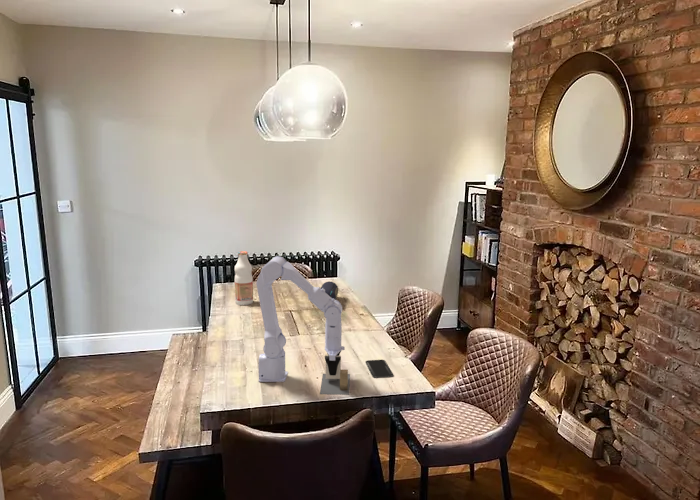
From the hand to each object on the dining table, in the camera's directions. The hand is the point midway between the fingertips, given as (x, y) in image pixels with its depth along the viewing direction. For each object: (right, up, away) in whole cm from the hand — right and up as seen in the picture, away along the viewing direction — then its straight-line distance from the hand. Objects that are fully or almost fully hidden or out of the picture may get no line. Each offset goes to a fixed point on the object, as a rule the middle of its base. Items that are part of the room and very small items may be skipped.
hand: (333, 371), depth 180 cm
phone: (+17, -2, +10) cm, 20 cm away
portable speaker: (-6, +14, +93) cm, 94 cm away
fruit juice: (-51, +15, +91) cm, 105 cm away
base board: (+1, -4, -3) cm, 5 cm away
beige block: (0, -2, 0) cm, 2 cm away
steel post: (0, -3, +1) cm, 3 cm away
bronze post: (+4, -4, -6) cm, 9 cm away
